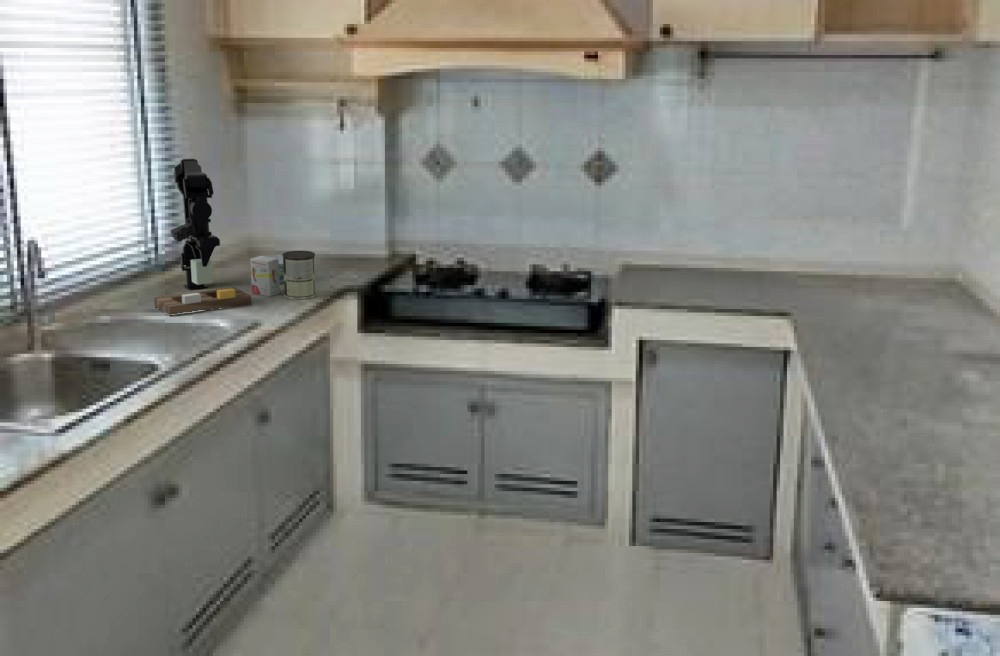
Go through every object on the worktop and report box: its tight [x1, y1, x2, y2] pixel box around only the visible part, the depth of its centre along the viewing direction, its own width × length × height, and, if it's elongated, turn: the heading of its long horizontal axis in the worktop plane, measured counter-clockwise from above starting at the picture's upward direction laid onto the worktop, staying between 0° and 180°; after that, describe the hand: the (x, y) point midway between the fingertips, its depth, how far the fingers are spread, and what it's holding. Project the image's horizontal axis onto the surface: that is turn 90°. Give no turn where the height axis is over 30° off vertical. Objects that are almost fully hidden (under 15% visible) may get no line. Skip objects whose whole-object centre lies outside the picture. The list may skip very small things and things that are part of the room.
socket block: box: [153, 286, 253, 315], centre depth 307 cm, size 13×26×5 cm, turn 128°
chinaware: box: [265, 254, 284, 284], centre depth 341 cm, size 15×15×8 cm
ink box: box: [249, 255, 281, 297], centre depth 324 cm, size 9×5×12 cm, turn 57°
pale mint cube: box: [191, 259, 214, 285], centre depth 309 cm, size 5×5×7 cm
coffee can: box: [282, 250, 317, 300], centre depth 321 cm, size 10×10×14 cm
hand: (201, 265), depth 308 cm, fingers closed on pale mint cube, 5 cm apart
